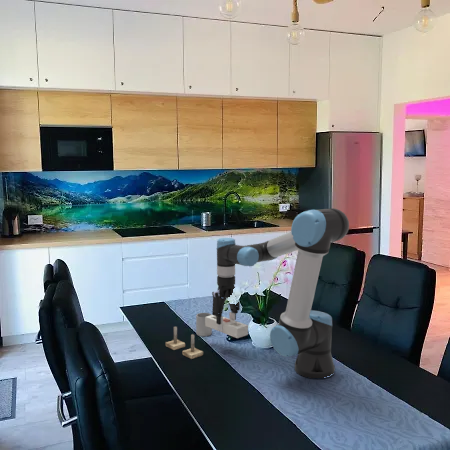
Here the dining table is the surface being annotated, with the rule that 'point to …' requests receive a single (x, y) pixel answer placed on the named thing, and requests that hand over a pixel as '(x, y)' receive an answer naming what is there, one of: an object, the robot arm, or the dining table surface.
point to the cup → (202, 325)
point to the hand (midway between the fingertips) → (226, 329)
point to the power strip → (228, 326)
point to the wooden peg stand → (178, 344)
